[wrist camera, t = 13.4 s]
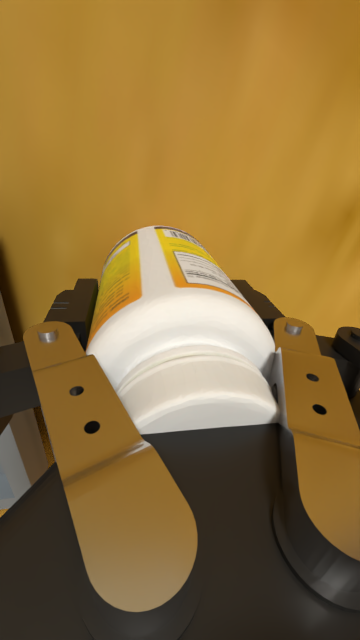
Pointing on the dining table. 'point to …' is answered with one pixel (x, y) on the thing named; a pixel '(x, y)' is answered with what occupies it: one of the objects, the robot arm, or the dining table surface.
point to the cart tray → (18, 443)
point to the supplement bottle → (180, 337)
